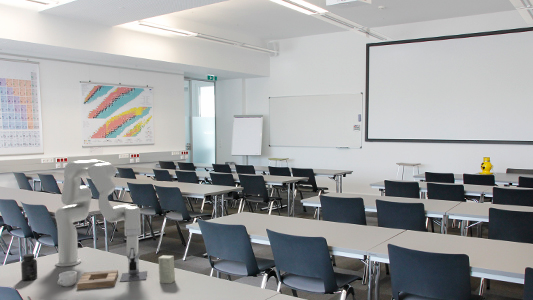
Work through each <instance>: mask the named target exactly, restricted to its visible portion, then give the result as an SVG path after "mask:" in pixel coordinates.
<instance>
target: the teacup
mask: <svg viewBox="0 0 533 300" xmlns="http://www.w3.org/2000/svg"><path fill="white" fill-rule="evenodd" d="M77 277H78V271H75V270H67V271H63V272H61V273H58V280H57V284H58V285H61V286H63V287H71V286H73V285H74V284H75V283H76V282H77V280H78V279H77Z"/></svg>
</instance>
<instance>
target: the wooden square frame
mask: <svg viewBox="0 0 533 300" xmlns="http://www.w3.org/2000/svg"><path fill="white" fill-rule="evenodd" d="M118 276H119V270H118V269H112V270H101V271H100V270H99V271H86V272H83V273H82V275H81V277H80V278H79V280H78V282H77V284H76V288H77V290H84V289H85V288H87V289H95V288H96V287H99V288H108V287H109V286H110V287H114V286H115V285H116V282H117V279H118ZM105 278H106V279H105ZM93 279H94V280H93Z"/></svg>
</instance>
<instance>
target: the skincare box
mask: <svg viewBox="0 0 533 300" xmlns="http://www.w3.org/2000/svg"><path fill="white" fill-rule="evenodd" d="M158 273H159V274H158V277H159V283H162V284H172V283H174V281H176V278H175V273H176V272H175V257H174V255H167V254H165V255H164V254H163V255H161V256H159V257H158Z"/></svg>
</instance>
